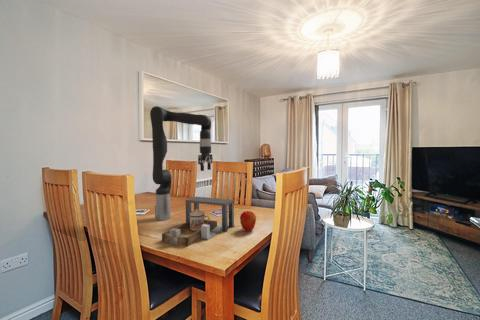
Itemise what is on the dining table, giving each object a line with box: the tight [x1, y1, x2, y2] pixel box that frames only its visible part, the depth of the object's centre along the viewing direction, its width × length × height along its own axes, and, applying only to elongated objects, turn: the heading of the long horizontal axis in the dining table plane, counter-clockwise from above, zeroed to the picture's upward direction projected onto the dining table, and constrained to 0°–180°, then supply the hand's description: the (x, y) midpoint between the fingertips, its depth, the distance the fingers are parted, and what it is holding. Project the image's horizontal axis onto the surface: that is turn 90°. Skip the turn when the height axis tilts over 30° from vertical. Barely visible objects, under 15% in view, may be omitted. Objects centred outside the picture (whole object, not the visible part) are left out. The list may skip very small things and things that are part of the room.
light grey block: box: [199, 224, 216, 241], centre depth 125 cm, size 4×8×7 cm, turn 157°
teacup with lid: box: [189, 208, 211, 232], centre depth 139 cm, size 12×9×12 cm
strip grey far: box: [211, 224, 222, 234], centre depth 136 cm, size 4×11×1 cm, turn 157°
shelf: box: [185, 196, 235, 233], centre depth 142 cm, size 27×11×16 cm, turn 67°
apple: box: [239, 210, 257, 232], centre depth 134 cm, size 9×9×12 cm
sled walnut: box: [161, 218, 218, 247], centre depth 129 cm, size 16×30×7 cm, turn 157°
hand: (205, 170), depth 156 cm, fingers open, 8 cm apart
